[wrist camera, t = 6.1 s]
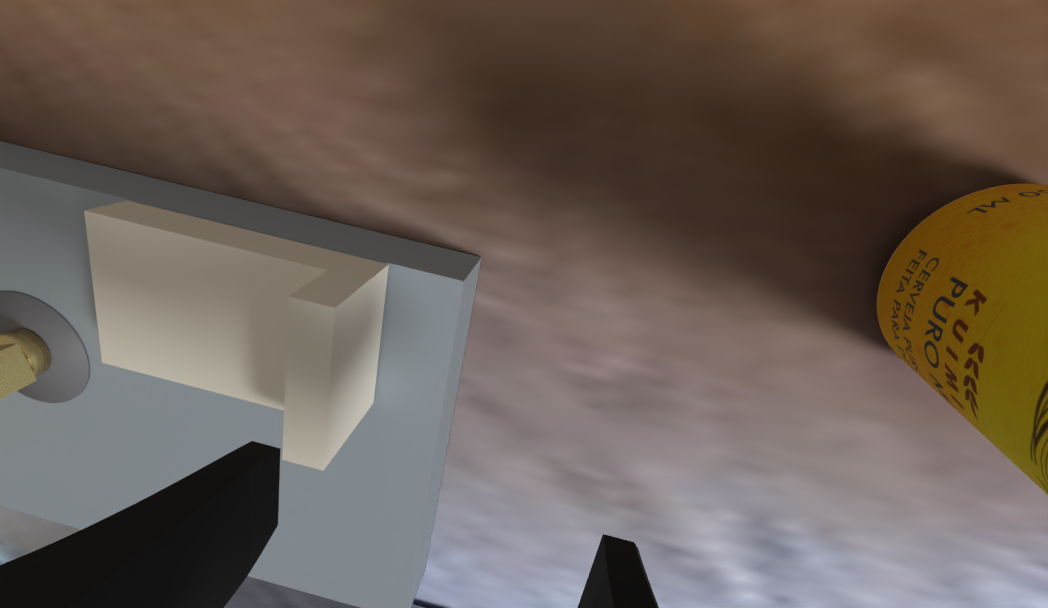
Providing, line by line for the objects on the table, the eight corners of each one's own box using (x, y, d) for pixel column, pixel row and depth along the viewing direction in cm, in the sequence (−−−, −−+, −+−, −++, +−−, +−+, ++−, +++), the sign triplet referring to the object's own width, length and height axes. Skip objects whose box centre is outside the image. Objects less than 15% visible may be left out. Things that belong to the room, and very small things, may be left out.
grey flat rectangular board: (425, 570, 24) (405, 622, 22) (33, 462, 25) (-27, 501, 23) (481, 257, 19) (462, 282, 16) (-30, 133, 20) (-118, 140, 17)
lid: (373, 402, 18) (323, 470, 15) (139, 342, 19) (41, 395, 16) (388, 264, 16) (335, 307, 13) (126, 200, 17) (13, 227, 14)
